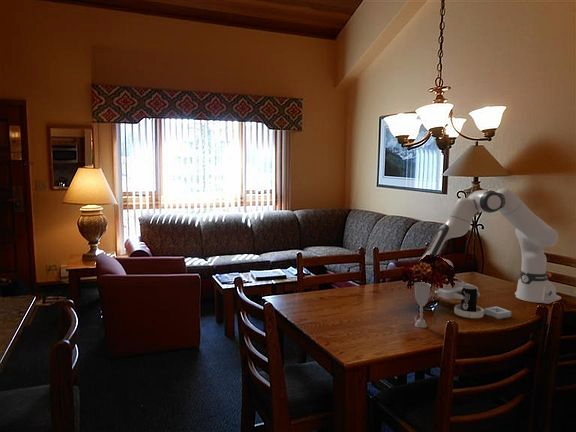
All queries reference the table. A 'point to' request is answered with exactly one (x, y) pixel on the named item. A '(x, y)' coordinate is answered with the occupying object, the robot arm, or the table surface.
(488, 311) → the square holder
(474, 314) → the round collar
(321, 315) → the table surface
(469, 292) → the beverage can
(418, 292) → the chalice
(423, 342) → the table surface
